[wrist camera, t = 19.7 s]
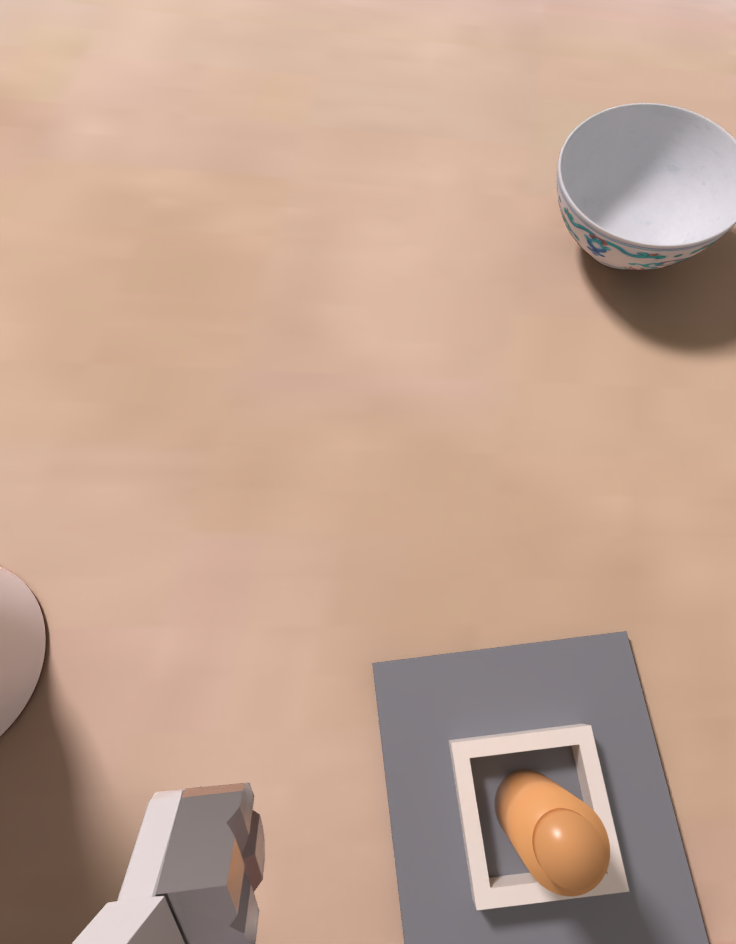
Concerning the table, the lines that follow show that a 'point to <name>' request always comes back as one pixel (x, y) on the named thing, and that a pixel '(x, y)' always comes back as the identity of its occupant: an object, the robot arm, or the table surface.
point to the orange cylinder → (553, 832)
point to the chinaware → (647, 185)
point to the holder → (541, 749)
